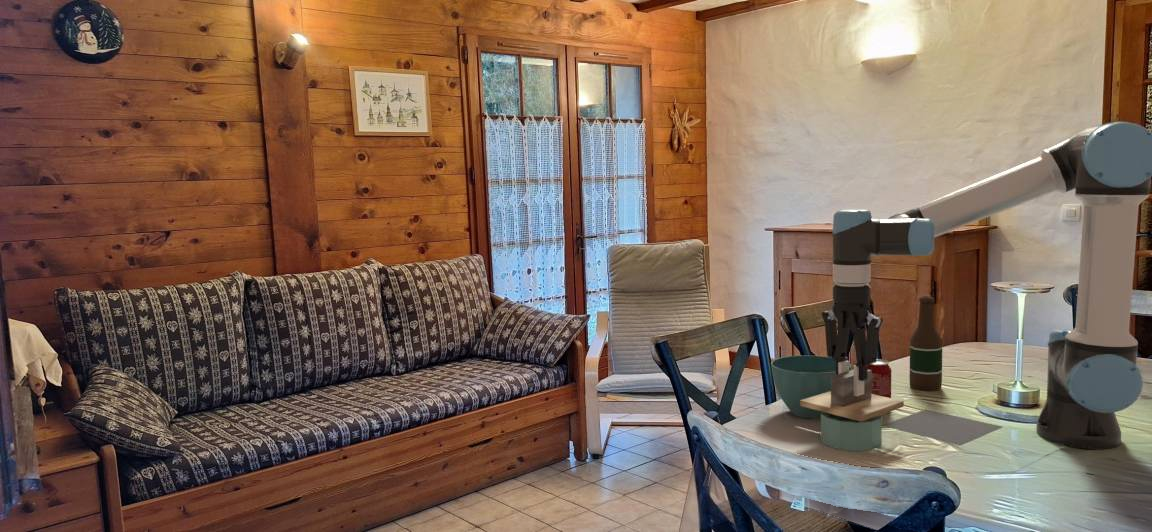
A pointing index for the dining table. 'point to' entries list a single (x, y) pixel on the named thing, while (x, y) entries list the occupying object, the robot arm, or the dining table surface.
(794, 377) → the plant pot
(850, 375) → the lid
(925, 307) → the beer bottle
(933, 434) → the mat
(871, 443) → the bowl
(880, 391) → the soda can
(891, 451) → the dining table surface
